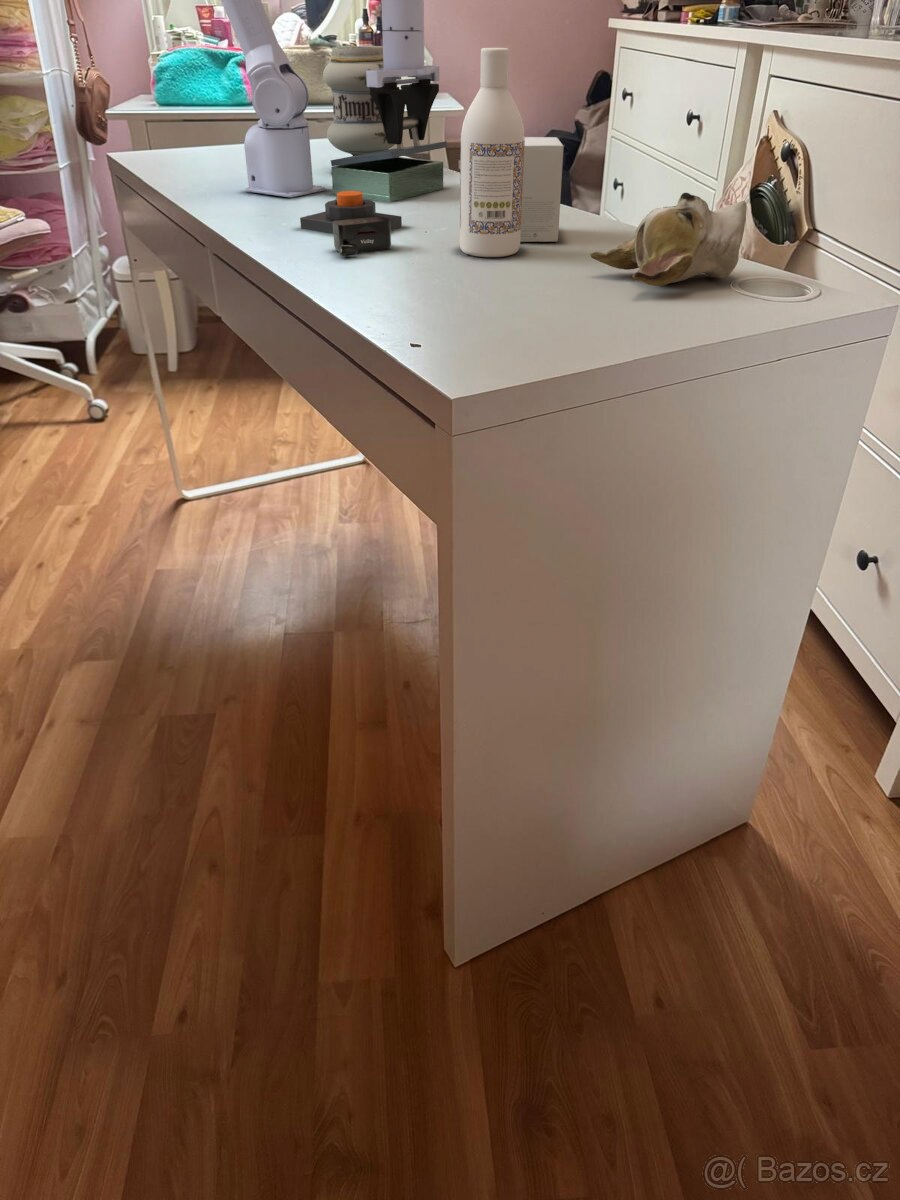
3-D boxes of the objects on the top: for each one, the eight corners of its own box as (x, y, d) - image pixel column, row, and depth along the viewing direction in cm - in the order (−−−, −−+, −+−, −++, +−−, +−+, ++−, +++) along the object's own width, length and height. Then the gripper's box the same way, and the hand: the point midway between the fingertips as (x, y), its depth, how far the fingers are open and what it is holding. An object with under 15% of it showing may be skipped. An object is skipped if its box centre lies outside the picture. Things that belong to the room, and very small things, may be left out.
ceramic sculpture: (780, 192, 85) (640, 212, 82) (767, 285, 90) (634, 308, 87) (718, 176, 94) (588, 193, 90) (709, 262, 99) (586, 281, 95)
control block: (300, 229, 113) (298, 203, 111) (341, 218, 119) (340, 194, 117) (362, 239, 108) (361, 212, 107) (402, 227, 114) (401, 202, 112)
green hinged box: (443, 188, 137) (443, 161, 135) (389, 202, 128) (388, 173, 126) (388, 182, 142) (387, 155, 140) (333, 194, 133) (331, 166, 131)
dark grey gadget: (326, 251, 103) (324, 221, 101) (383, 245, 106) (382, 216, 104) (341, 260, 100) (339, 229, 98) (399, 253, 102) (399, 223, 101)
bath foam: (530, 254, 102) (541, 49, 91) (476, 261, 99) (480, 50, 88) (501, 242, 107) (508, 46, 96) (449, 248, 105) (450, 47, 93)
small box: (558, 243, 107) (564, 145, 101) (511, 242, 107) (515, 144, 101) (553, 228, 113) (558, 136, 108) (508, 228, 114) (512, 135, 108)
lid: (447, 147, 134) (442, 110, 132) (392, 158, 124) (386, 119, 122) (388, 155, 140) (382, 120, 138) (331, 166, 131) (324, 129, 129)
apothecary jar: (339, 165, 157) (331, 44, 147) (406, 166, 155) (403, 44, 145) (321, 176, 147) (312, 47, 137) (393, 177, 145) (389, 48, 135)
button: (332, 207, 112) (331, 193, 111) (348, 202, 114) (347, 189, 113) (352, 209, 110) (351, 196, 109) (368, 205, 112) (367, 192, 111)
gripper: (394, 32, 115) (397, 149, 123) (457, 30, 125) (456, 138, 133) (352, 31, 119) (357, 145, 126) (416, 29, 128) (418, 135, 136)
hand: (405, 141), depth 130 cm, fingers closed on lid, 5 cm apart
